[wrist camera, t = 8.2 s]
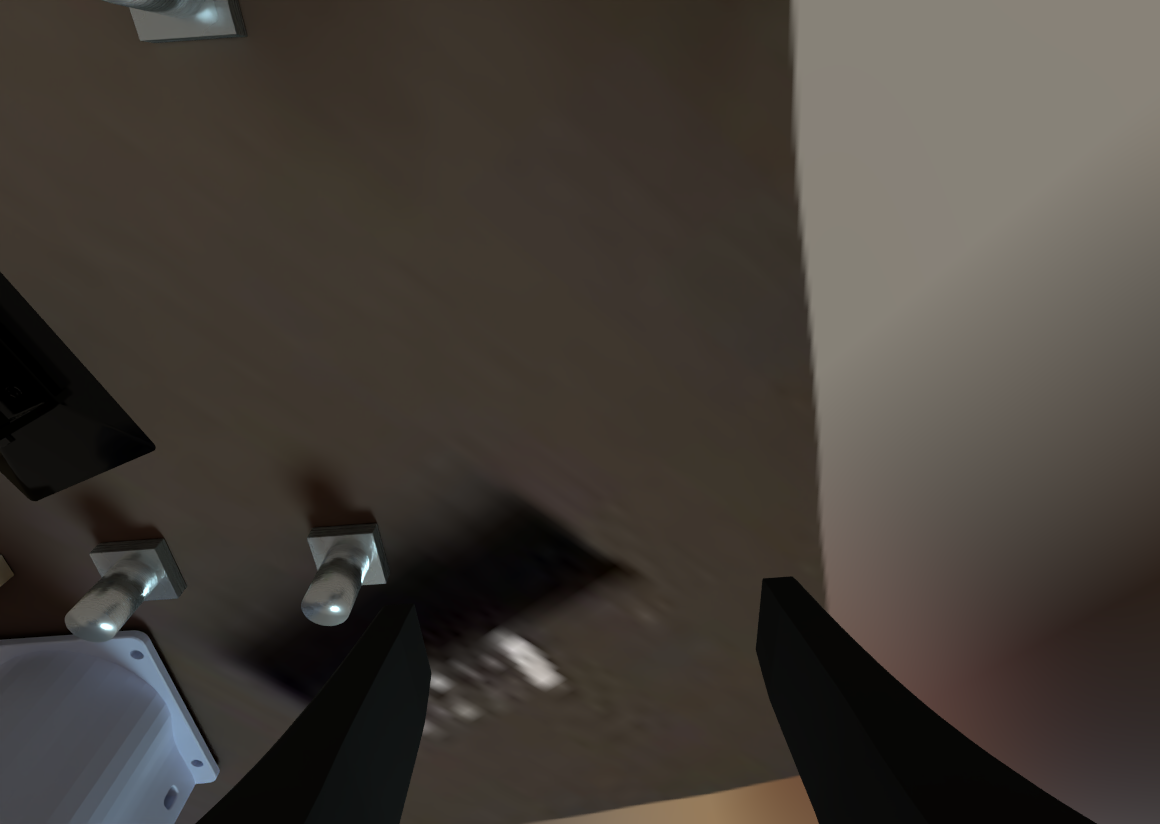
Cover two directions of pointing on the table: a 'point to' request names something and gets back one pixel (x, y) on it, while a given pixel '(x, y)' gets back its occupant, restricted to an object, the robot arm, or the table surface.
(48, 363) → the black boxy piece
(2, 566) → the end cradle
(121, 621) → the guide pins
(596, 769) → the table surface
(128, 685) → the robot arm
